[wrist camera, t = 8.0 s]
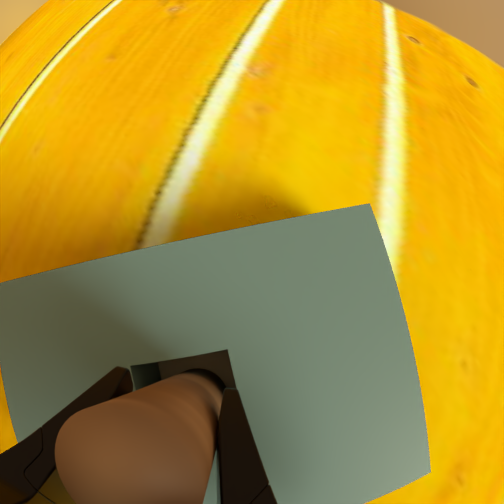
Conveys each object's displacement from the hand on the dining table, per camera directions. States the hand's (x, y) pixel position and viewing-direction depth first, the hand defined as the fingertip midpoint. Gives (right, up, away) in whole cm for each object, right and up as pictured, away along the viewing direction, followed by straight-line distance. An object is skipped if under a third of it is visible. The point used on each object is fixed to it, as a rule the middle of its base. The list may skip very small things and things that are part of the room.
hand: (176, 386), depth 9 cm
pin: (0, -3, +6) cm, 7 cm away
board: (0, -4, +7) cm, 8 cm away
